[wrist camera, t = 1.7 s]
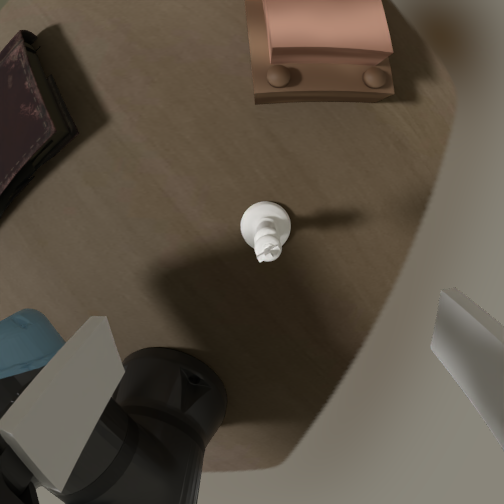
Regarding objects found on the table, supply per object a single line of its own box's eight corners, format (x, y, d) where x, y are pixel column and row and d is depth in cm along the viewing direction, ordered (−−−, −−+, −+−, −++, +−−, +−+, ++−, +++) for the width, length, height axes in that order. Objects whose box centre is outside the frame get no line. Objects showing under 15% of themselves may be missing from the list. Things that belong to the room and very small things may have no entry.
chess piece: (231, 217, 30) (218, 244, 21) (274, 192, 29) (282, 207, 20) (256, 259, 31) (256, 302, 22) (299, 234, 31) (318, 269, 21)
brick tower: (374, 102, 26) (415, 84, 18) (255, 104, 27) (253, 80, 18) (350, -22, 22) (373, -64, 13) (241, -24, 22) (236, -72, 14)
